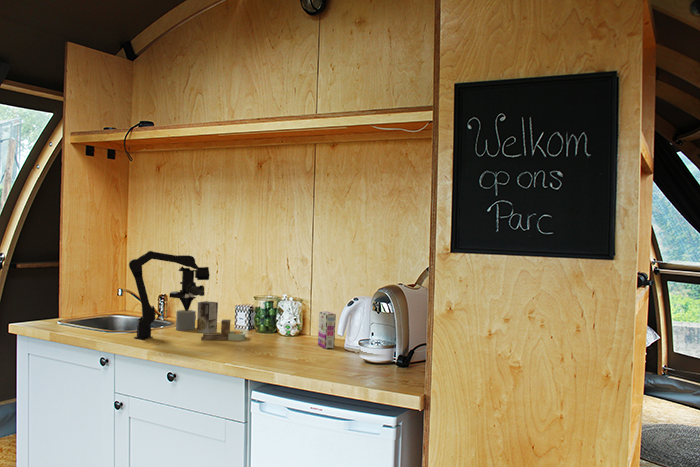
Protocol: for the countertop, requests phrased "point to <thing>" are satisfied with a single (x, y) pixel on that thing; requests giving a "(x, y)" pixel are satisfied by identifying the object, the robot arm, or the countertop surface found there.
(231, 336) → the grey-green flat block
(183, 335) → the countertop surface
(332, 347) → the candy bar box
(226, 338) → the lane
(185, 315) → the coffee mug
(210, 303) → the coffee box
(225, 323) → the brown wooden box
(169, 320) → the countertop surface
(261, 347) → the countertop surface
